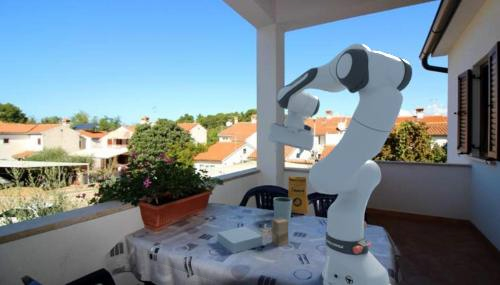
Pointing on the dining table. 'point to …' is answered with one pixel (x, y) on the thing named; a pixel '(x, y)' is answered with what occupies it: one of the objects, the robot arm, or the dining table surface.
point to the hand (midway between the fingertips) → (287, 155)
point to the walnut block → (280, 231)
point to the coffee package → (298, 194)
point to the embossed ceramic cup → (282, 208)
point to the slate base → (239, 239)
